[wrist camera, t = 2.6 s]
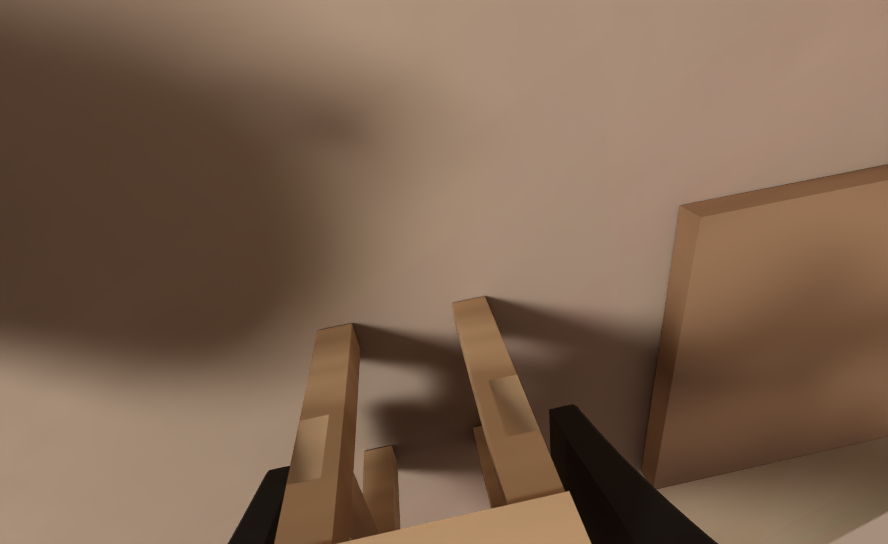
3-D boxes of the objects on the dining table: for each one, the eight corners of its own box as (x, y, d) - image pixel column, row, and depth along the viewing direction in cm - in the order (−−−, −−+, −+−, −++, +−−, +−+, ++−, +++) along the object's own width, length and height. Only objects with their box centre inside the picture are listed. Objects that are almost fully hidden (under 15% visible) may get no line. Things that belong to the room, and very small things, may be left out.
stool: (503, 440, 14) (596, 740, 8) (369, 469, 14) (363, 800, 8) (486, 294, 11) (613, 597, 5) (315, 329, 11) (238, 688, 5)
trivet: (906, 410, 17) (928, 426, 16) (641, 470, 16) (653, 490, 15) (1074, 127, 11) (1119, 133, 10) (679, 206, 11) (701, 217, 10)
